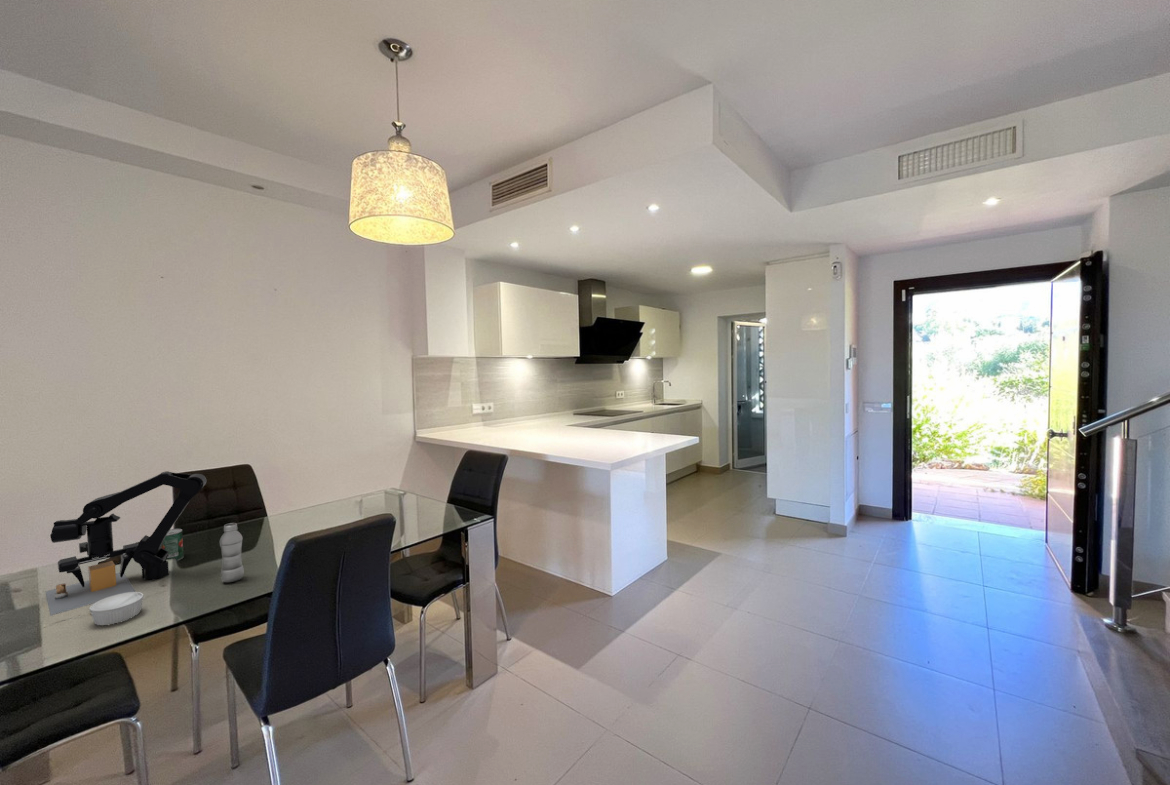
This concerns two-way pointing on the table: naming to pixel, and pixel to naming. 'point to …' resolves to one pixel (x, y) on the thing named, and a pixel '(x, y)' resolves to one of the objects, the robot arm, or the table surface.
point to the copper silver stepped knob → (61, 591)
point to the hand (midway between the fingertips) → (102, 581)
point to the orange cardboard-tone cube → (102, 576)
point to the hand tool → (113, 559)
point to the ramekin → (116, 608)
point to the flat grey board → (85, 595)
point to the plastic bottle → (231, 554)
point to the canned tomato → (174, 544)
